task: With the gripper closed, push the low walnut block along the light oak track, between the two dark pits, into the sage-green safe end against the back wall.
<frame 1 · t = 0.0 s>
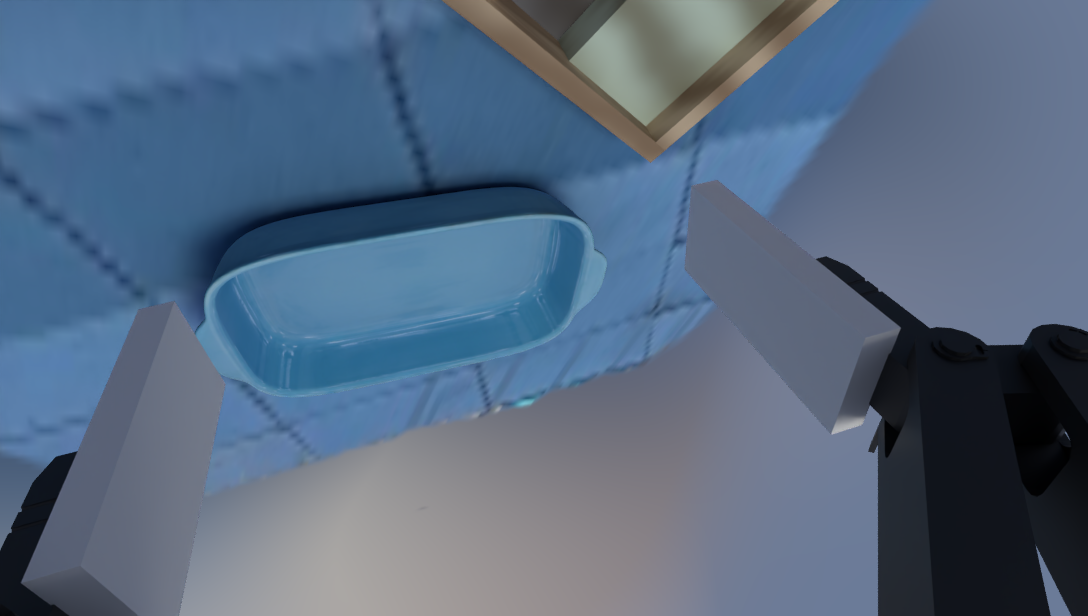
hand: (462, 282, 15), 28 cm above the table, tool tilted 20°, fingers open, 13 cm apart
casserole dish: (407, 258, 57), on the table
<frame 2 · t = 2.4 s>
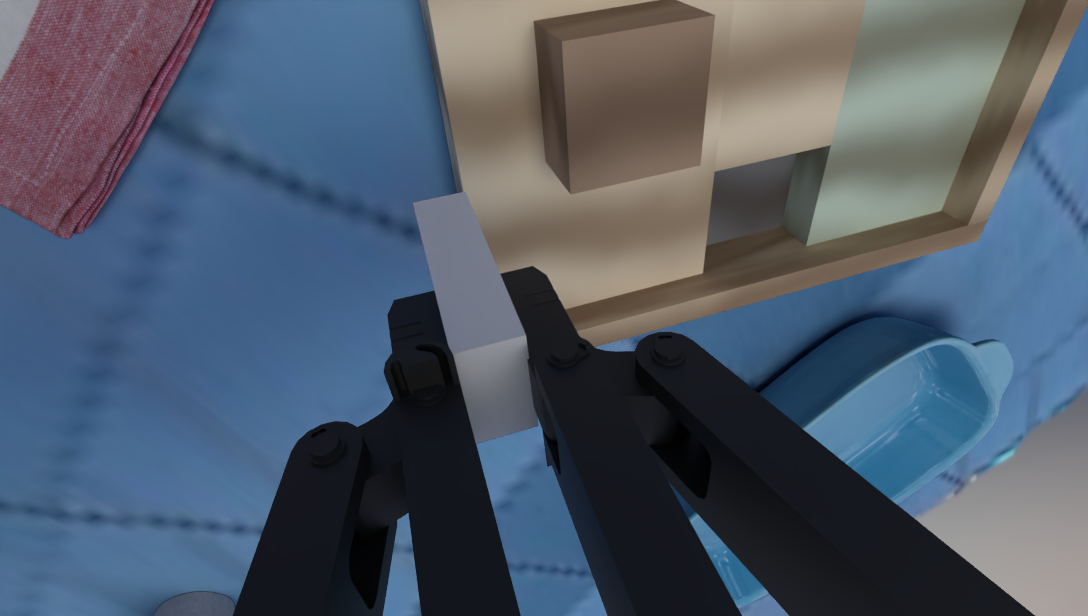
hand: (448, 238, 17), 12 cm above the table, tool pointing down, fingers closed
casserole dish: (773, 437, 55), on the table
house plant: (177, 605, 43), on the table
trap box: (730, 38, 29), on the table
walnut block: (605, 84, 25), point 3 cm above the table, touching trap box
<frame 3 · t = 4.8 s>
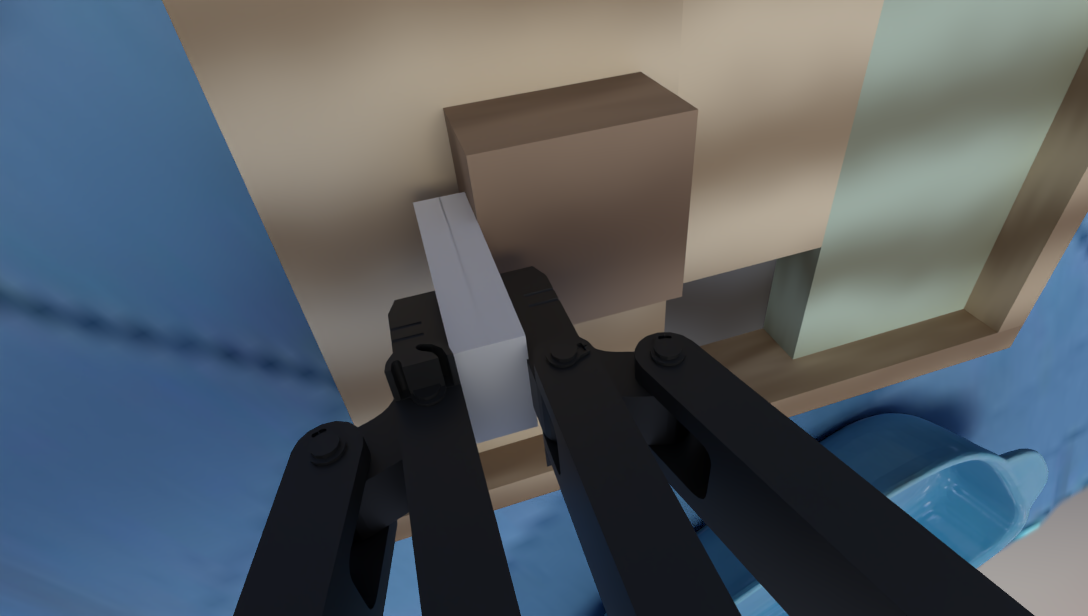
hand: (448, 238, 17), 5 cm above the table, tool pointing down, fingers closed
casserole dish: (763, 535, 47), on the table
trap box: (686, 115, 22), on the table
walnut block: (552, 183, 19), point 3 cm above the table, touching gripper, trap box
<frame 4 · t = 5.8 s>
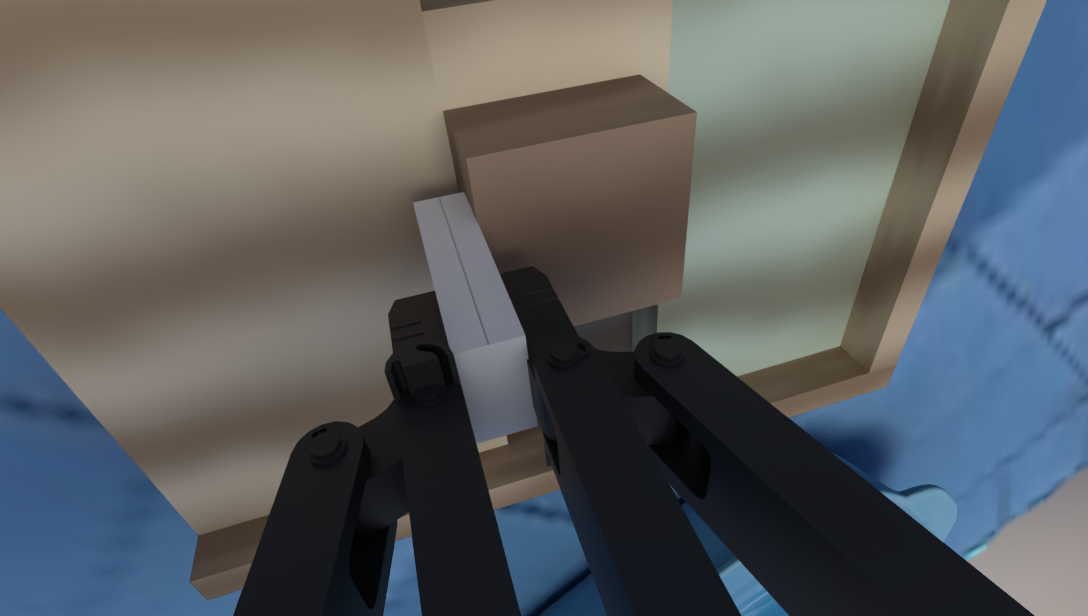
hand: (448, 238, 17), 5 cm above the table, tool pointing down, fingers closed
casserole dish: (681, 564, 46), on the table
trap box: (500, 154, 21), on the table
walnut block: (552, 185, 19), point 3 cm above the table, touching gripper, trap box
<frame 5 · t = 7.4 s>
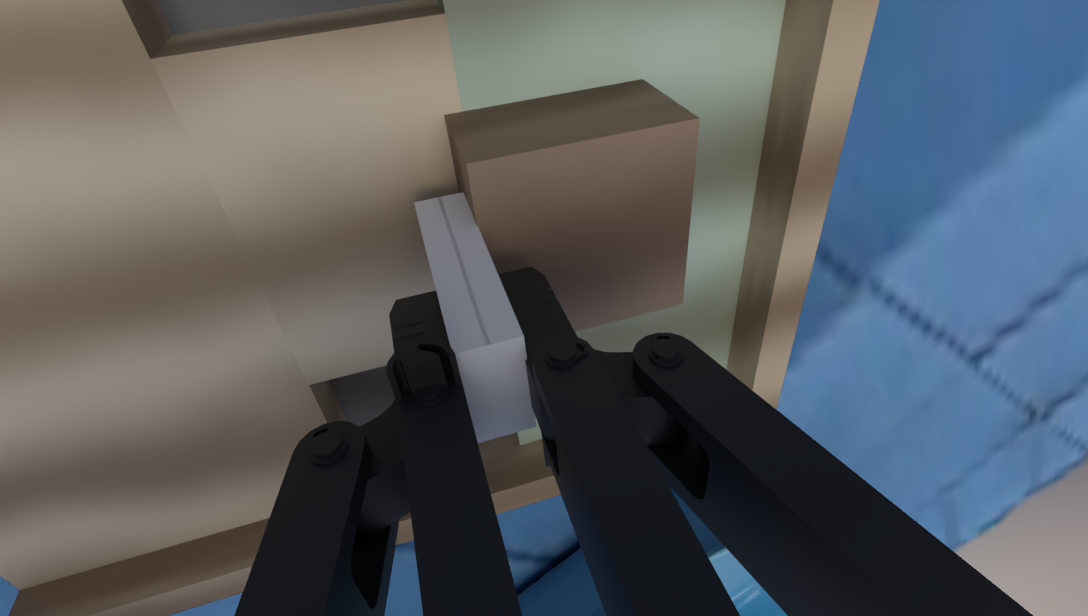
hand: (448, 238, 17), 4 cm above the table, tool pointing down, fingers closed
casserole dish: (604, 595, 45), on the table
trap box: (317, 196, 20), on the table
walnut block: (553, 190, 19), point 3 cm above the table, touching gripper, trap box
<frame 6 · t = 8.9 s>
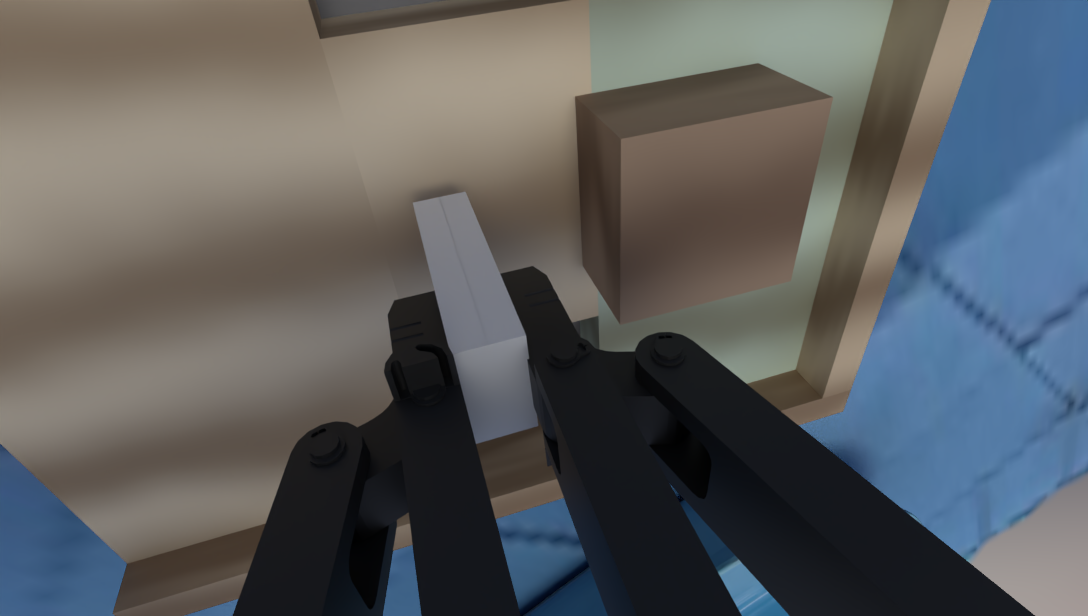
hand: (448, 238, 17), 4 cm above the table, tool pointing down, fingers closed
casserole dish: (650, 582, 45), on the table
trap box: (430, 178, 20), on the table
walnut block: (664, 171, 19), point 3 cm above the table, touching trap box
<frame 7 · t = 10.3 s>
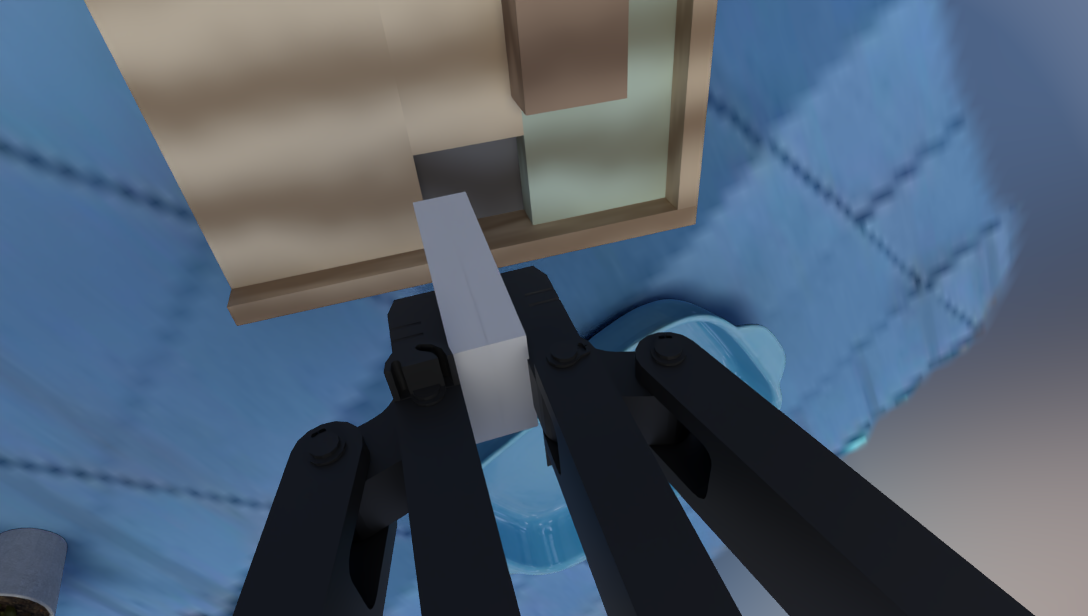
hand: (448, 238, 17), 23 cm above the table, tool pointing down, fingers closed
casserole dish: (590, 411, 59), on the table
house plant: (11, 540, 48), on the table
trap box: (421, 42, 34), on the table
walnut block: (556, 35, 33), point 3 cm above the table, touching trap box
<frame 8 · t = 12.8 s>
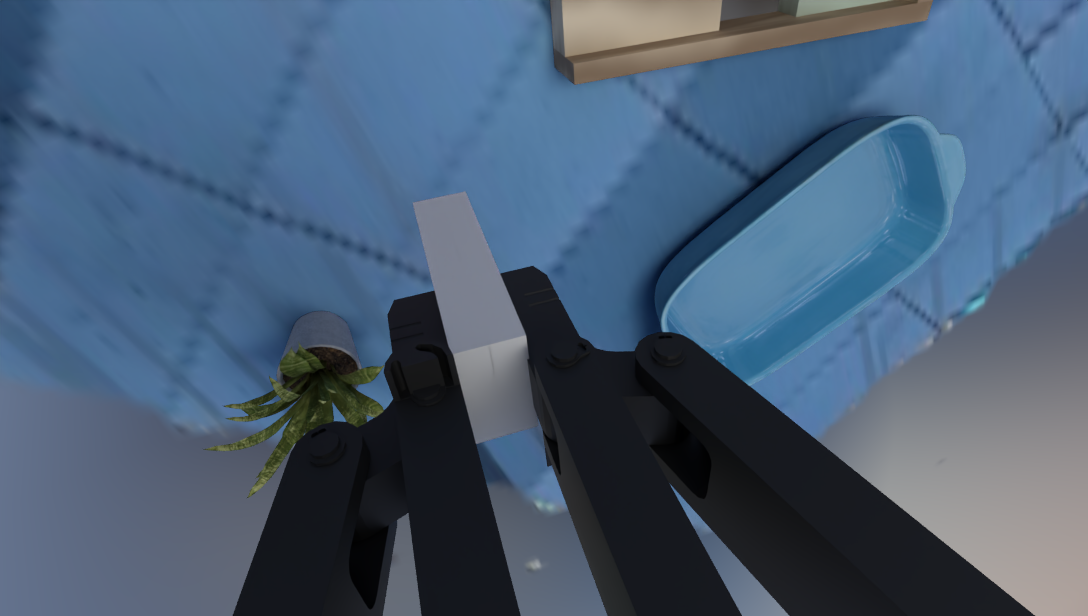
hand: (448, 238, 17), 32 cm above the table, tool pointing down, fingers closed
casserole dish: (772, 240, 66), on the table
house plant: (308, 324, 55), on the table
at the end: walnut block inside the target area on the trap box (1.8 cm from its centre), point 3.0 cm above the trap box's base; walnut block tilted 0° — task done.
